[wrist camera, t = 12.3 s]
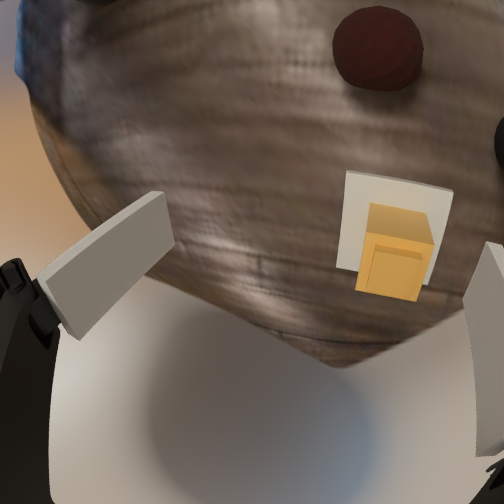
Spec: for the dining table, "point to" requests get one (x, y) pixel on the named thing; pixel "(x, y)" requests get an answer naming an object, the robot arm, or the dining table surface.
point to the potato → (378, 49)
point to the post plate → (391, 194)
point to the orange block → (395, 252)
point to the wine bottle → (500, 142)
